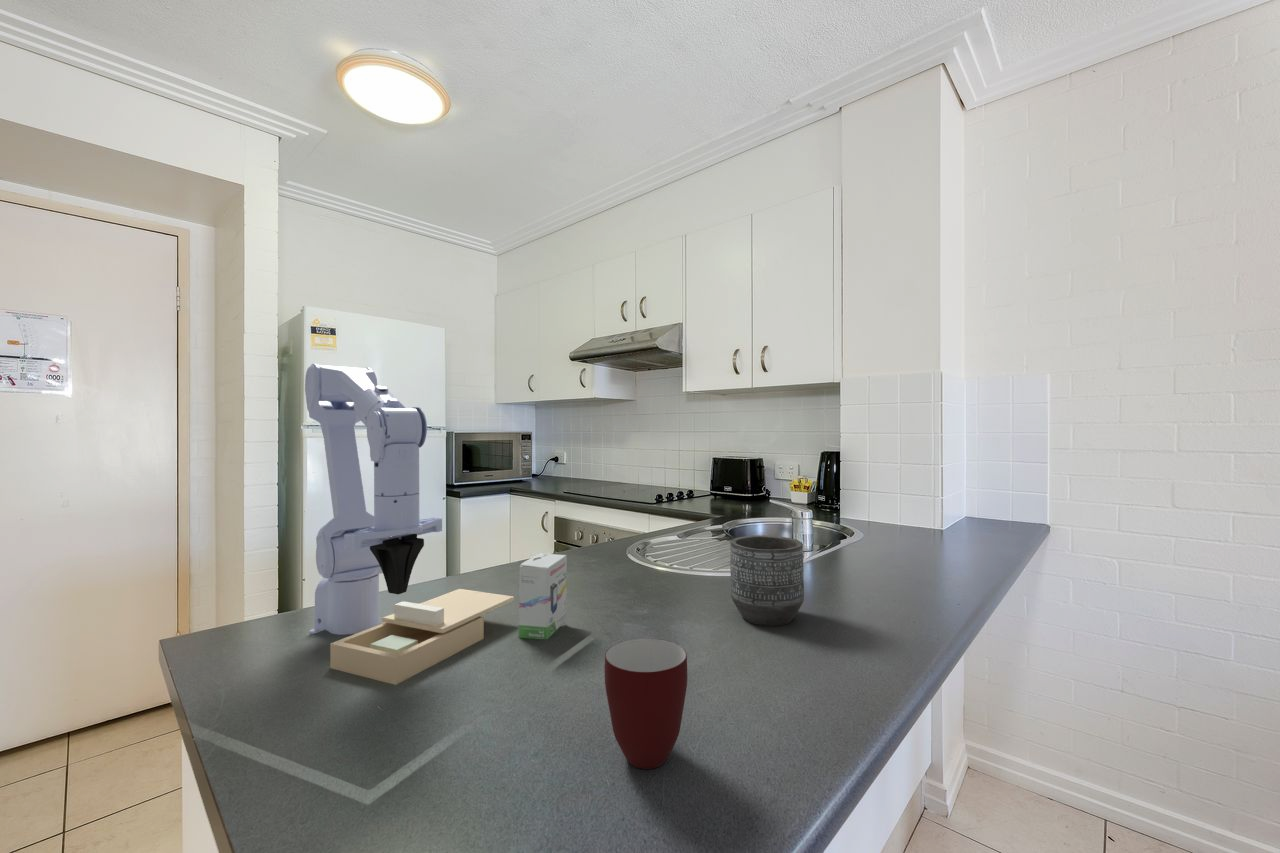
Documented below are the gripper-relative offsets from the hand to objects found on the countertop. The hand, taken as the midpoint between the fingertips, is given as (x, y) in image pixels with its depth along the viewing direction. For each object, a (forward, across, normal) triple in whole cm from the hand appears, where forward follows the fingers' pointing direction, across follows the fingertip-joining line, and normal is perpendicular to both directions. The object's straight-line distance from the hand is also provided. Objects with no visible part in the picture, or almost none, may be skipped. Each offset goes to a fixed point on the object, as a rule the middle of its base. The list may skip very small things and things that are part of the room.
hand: (397, 592), depth 74 cm
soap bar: (+9, -1, 0) cm, 9 cm away
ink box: (+10, +17, -12) cm, 23 cm away
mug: (+10, -4, -39) cm, 41 cm away
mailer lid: (+6, +10, 0) cm, 11 cm away
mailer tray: (+10, +2, 0) cm, 10 cm away
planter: (+10, +39, -43) cm, 59 cm away
